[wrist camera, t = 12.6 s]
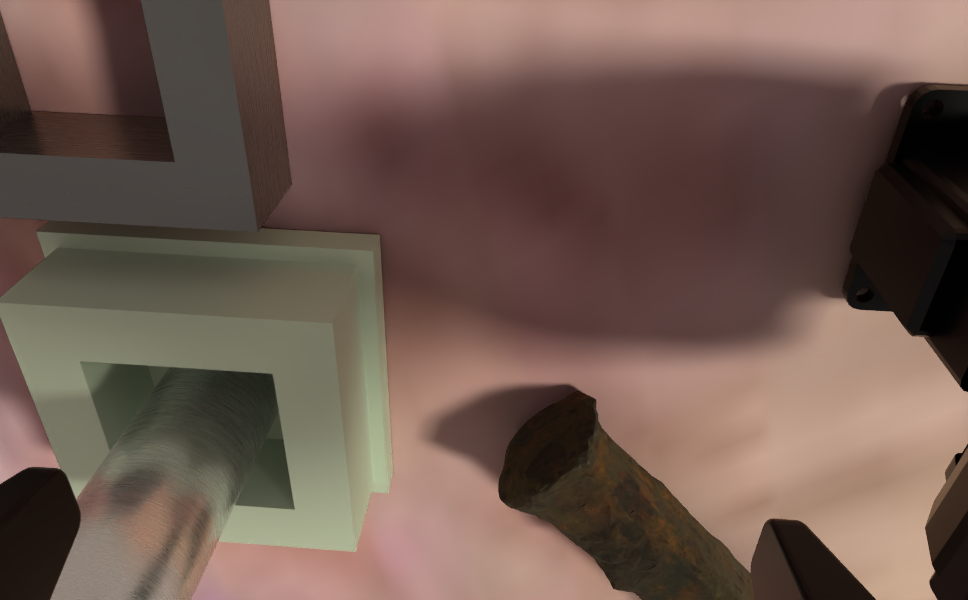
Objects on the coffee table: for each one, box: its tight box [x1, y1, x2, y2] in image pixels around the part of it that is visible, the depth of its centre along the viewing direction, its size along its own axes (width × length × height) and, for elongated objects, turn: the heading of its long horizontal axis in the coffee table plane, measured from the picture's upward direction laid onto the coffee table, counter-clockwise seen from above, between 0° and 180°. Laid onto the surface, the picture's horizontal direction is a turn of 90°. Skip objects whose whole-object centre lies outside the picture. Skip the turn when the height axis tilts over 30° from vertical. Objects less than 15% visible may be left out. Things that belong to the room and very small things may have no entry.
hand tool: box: [498, 391, 754, 600], centre depth 27 cm, size 19×4×5 cm, turn 40°
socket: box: [0, 0, 292, 232], centre depth 18 cm, size 9×9×3 cm
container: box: [0, 220, 393, 552], centre depth 23 cm, size 10×10×4 cm
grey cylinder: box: [50, 367, 279, 600], centre depth 19 cm, size 4×4×13 cm
